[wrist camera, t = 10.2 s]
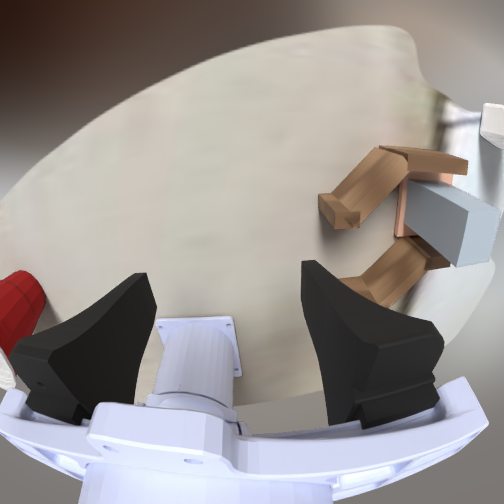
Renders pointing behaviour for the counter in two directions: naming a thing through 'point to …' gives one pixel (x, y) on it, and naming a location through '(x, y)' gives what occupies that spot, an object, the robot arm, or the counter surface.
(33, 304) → the plastic cup
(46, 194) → the counter surface
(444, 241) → the slate block
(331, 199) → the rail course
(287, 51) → the counter surface
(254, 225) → the counter surface
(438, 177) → the coaster
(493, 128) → the pepper shaker
